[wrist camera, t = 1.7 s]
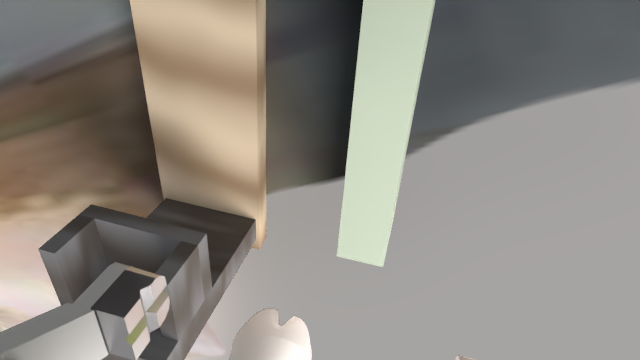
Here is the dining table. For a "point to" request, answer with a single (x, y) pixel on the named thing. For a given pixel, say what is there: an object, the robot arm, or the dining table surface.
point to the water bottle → (271, 339)
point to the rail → (381, 122)
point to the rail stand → (186, 167)
